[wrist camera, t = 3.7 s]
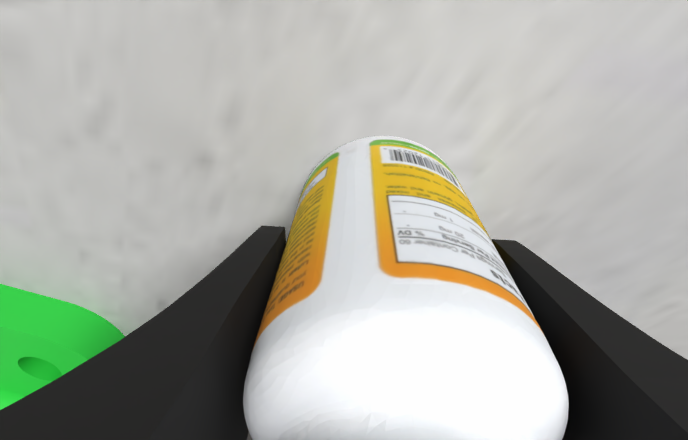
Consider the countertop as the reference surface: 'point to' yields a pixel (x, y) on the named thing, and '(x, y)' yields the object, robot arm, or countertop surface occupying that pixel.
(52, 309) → the mechanical part
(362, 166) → the supplement bottle
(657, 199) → the countertop surface
